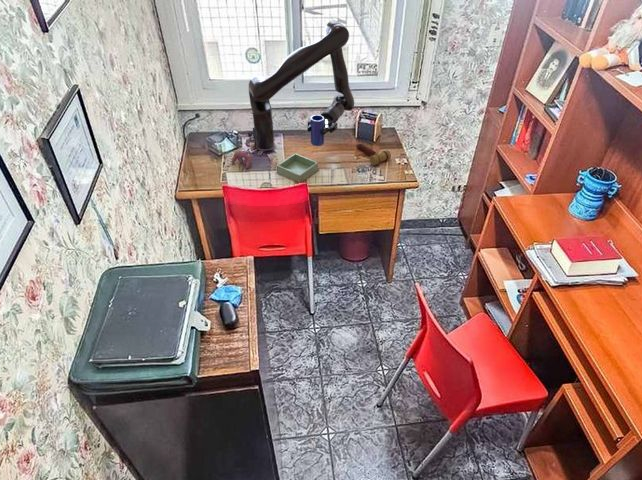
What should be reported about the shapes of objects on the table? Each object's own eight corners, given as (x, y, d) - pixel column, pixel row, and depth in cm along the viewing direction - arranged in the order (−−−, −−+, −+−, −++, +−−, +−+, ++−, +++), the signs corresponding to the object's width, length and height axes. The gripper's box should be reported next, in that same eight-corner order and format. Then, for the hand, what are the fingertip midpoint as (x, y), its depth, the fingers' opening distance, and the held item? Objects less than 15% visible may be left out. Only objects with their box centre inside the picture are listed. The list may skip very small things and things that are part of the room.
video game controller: (252, 168, 225) (254, 153, 222) (247, 168, 221) (249, 153, 218) (235, 163, 227) (237, 148, 225) (230, 163, 223) (231, 148, 221)
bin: (276, 173, 220) (276, 165, 217) (295, 160, 228) (294, 153, 225) (300, 183, 215) (299, 175, 212) (318, 170, 223) (318, 162, 220)
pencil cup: (308, 143, 219) (307, 118, 210) (316, 138, 223) (316, 113, 214) (318, 147, 217) (318, 122, 208) (326, 142, 221) (326, 117, 212)
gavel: (348, 142, 235) (363, 136, 239) (348, 151, 238) (363, 145, 242) (375, 158, 223) (391, 151, 227) (375, 166, 226) (390, 160, 231)
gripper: (316, 105, 223) (300, 120, 212) (344, 112, 219) (329, 127, 209) (316, 120, 228) (301, 135, 218) (343, 127, 225) (329, 143, 215)
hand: (315, 131), depth 214 cm, fingers closed on pencil cup, 6 cm apart
